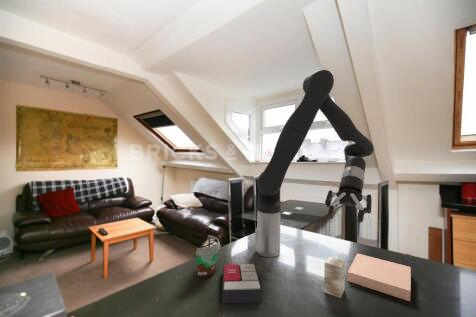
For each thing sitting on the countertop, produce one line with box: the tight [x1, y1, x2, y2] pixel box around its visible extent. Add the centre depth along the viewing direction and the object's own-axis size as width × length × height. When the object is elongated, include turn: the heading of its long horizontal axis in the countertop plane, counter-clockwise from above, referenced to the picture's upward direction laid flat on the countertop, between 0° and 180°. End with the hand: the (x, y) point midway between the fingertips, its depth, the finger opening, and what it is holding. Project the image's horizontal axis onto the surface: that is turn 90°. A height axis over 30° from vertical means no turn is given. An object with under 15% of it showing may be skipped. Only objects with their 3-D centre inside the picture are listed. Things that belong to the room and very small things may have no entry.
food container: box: [195, 234, 221, 278], centre depth 79 cm, size 12×6×10 cm, turn 168°
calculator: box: [221, 263, 263, 304], centre depth 70 cm, size 11×4×15 cm
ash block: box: [323, 256, 346, 299], centre depth 67 cm, size 5×5×9 cm
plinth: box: [347, 253, 412, 302], centre depth 74 cm, size 16×16×3 cm
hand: (344, 219), depth 75 cm, fingers open, 8 cm apart
